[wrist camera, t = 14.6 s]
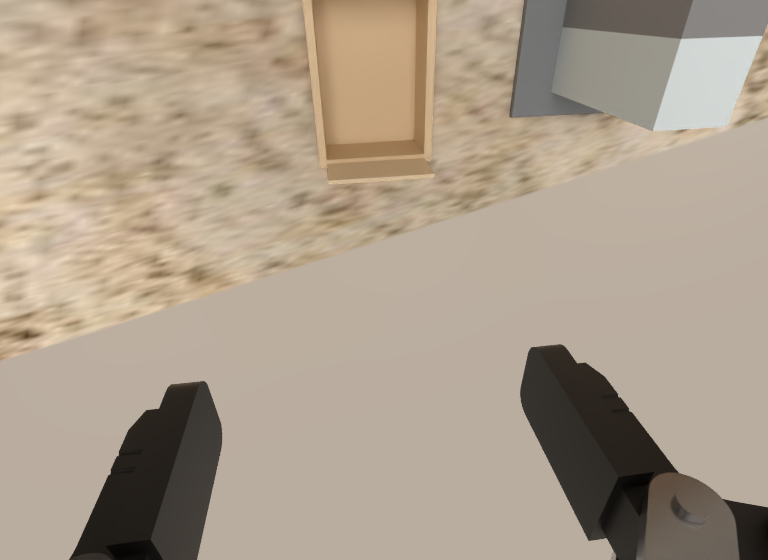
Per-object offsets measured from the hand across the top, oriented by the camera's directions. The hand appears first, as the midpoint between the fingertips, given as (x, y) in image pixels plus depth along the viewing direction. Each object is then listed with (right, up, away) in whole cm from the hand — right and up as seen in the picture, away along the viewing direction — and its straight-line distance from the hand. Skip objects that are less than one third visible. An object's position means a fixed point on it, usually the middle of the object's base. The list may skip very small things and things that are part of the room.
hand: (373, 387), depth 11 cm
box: (+18, +23, +26) cm, 39 cm away
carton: (-1, +20, +25) cm, 32 cm away
